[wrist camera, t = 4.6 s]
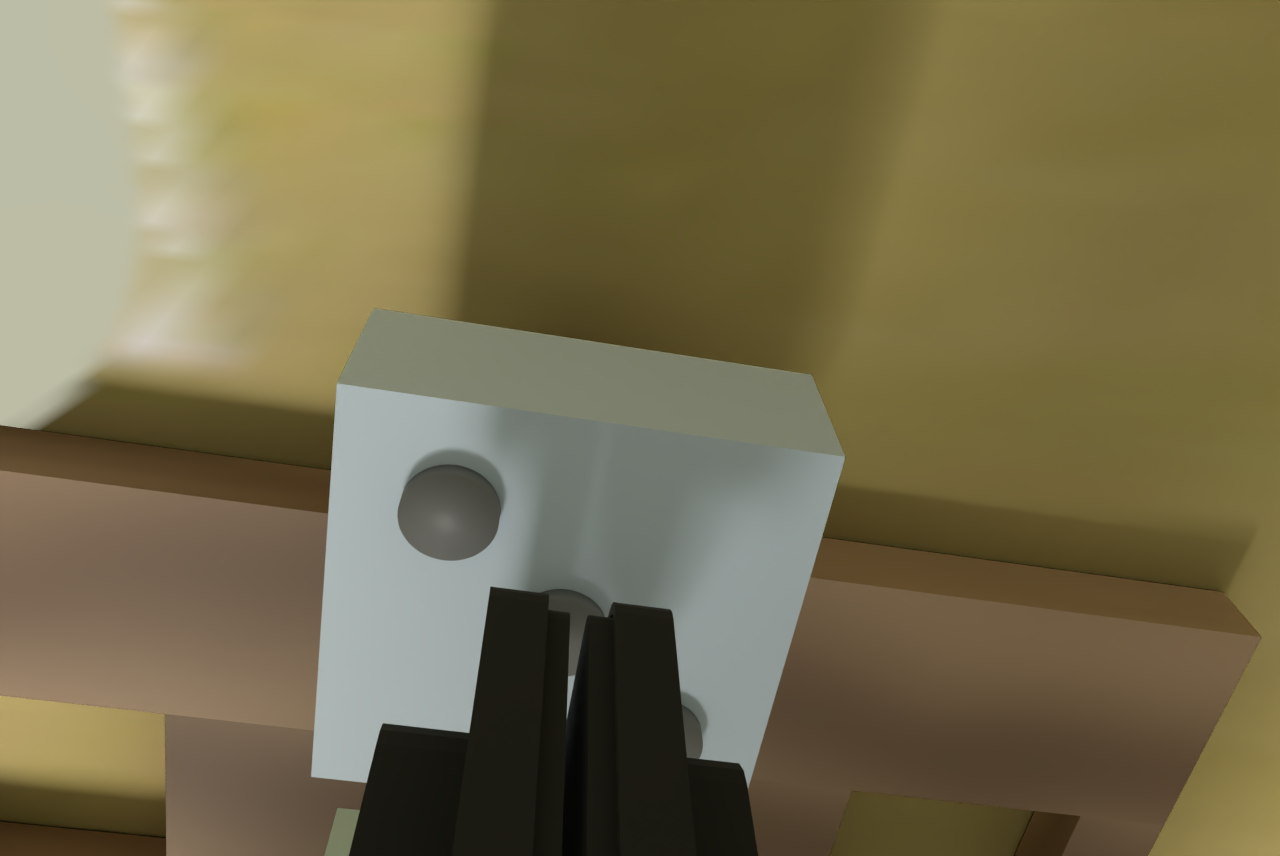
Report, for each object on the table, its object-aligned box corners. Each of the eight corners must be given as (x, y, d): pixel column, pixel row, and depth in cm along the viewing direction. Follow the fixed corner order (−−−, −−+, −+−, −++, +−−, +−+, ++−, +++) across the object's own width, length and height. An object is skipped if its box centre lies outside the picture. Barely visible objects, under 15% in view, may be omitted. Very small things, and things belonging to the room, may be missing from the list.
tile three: (708, 620, 17) (739, 835, 13) (372, 577, 17) (307, 789, 13) (786, 311, 15) (849, 466, 11) (401, 251, 14) (332, 392, 11)
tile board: (994, 1058, 24) (1013, 1115, 23) (-110, 963, 22) (-147, 1021, 20) (1223, 591, 19) (1261, 637, 18) (-205, 397, 16) (-261, 436, 15)
